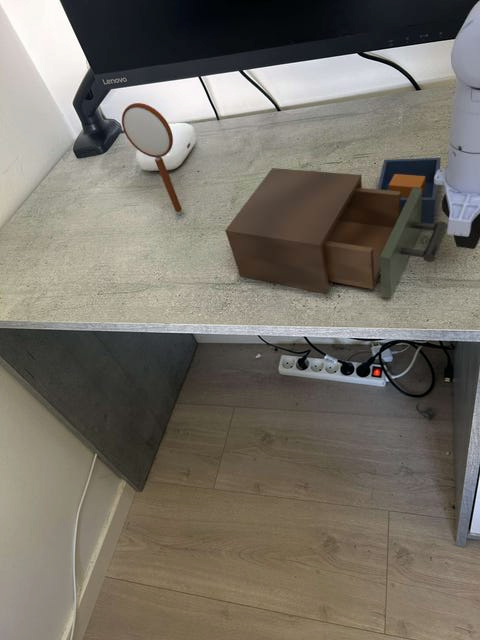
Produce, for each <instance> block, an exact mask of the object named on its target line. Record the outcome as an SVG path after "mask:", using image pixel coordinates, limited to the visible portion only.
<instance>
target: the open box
mask: <svg viewBox="0 0 480 640" xmlns="http://www.w3.org/2000/svg"><path fill="white" fill-rule="evenodd" d="M441 160H442V157H422V158H421V157H420V158H396V159H395V158H393V159H392V158H391V159H384V160H383V162H382V167H381V171H380V175H379V179H378V183H377V187H376V189H378V190H389V184H390V182H391V180H392V178H393V176H394V174H402V175H416V176H425V198H422V209H421V223H428V224H435V220H436V211H437V204H438V195H439V187H440V185H437V184H435V183H434V177H435V174H436V172H437V171H438V170H439V169H441ZM407 199H408V198H401V212H402V210H403V208H404V206H405V204H406V201H407Z"/></svg>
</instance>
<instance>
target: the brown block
mask: <svg viewBox="0 0 480 640" xmlns="http://www.w3.org/2000/svg"><path fill="white" fill-rule="evenodd" d="M413 188H419V189H422V198H425V176H416V175H402V174H394V176H393V178H392V180H391V182H390V184H389V191H400V192H401V198H408V197H409V195H410V193H411V191H412V189H413Z"/></svg>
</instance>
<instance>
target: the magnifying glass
mask: <svg viewBox="0 0 480 640" xmlns="http://www.w3.org/2000/svg"><path fill="white" fill-rule="evenodd" d="M168 124H169V123H168V121H167V120H166V118H165V117H164V116H163V115H162V114H161V113H160V112H159V111H158V110H157V109H155V108H154V107H152V106H151V105H149V104H147V103H146V104H145V103H142V102H135V103H132V104H129V105H128V106H126V107H125V109H124V110H123V112H122V116H121V125H122V131H123V132H124V135H125V136H126V138H127V139H128V141H129V143H131V145H132V146H133V147H134V148H135V149H136V150H137V149H138V150H139V151H140V152H142V153H143V154H145V155H148V156H150V157H155V158H156V159H155V162H156V164H157V167H158V169H159V171H158V172H159V175H160V177H161V179H162V181H163V184H164V186H165V189H166V192H167V194H168V197H169V199H170V201H171V204H172V206H173V209H174V211H175V212H176V213H177V215H178V216H181V215H182V214H183V211H182V208H183V207H182V206H181V205H182V204H181V203H180V201H179V198H178V196H177V192H176V190H175V188H174V185H173V182H172V180H171V177H170V175H169V171H168V170H166V167H165V165H164V162H163V159H162V157H163V156H165V155H166V154H168V153H169V151H170V150H171V148H172V145H173V135H172V131H171V129H170V126H169V125H168Z"/></svg>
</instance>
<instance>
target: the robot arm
mask: <svg viewBox="0 0 480 640" xmlns="http://www.w3.org/2000/svg"><path fill="white" fill-rule="evenodd" d="M450 64H451V68H452V71H453V73H454V74H455V89H454V92H453V94H452V105H451V115H450V116H451V117H450V129H449V139H448V141H449V142H448V150H447V151H448V152H447V164H446V168H440V169H439V170H438V171H437V172H436V174H435V177H434V183H435V184H437V185H439V186H443V189H444V194H443V197H442V200H441V211H442V212H443V213H444V214H445V216H446V218H447V219H448V221H447V226H448V227H447V230H446V234H447V235H452V236H453V239H454V244H455V246H456V247H457V248H463V249H469V250H475V249H476V248H477V246H478V245H479V242H480V0H479V1H477V2H476V3H475V5H474V6H473V7H472V9H471V10H470V12H469V13H468V14H467V17H466V19H465V21H464V23H463V24H462V26H461V28H460V30H459V31H458V33H457V35H456V37H455V39H454V41H453V45H452V48H451V52H450Z"/></svg>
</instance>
